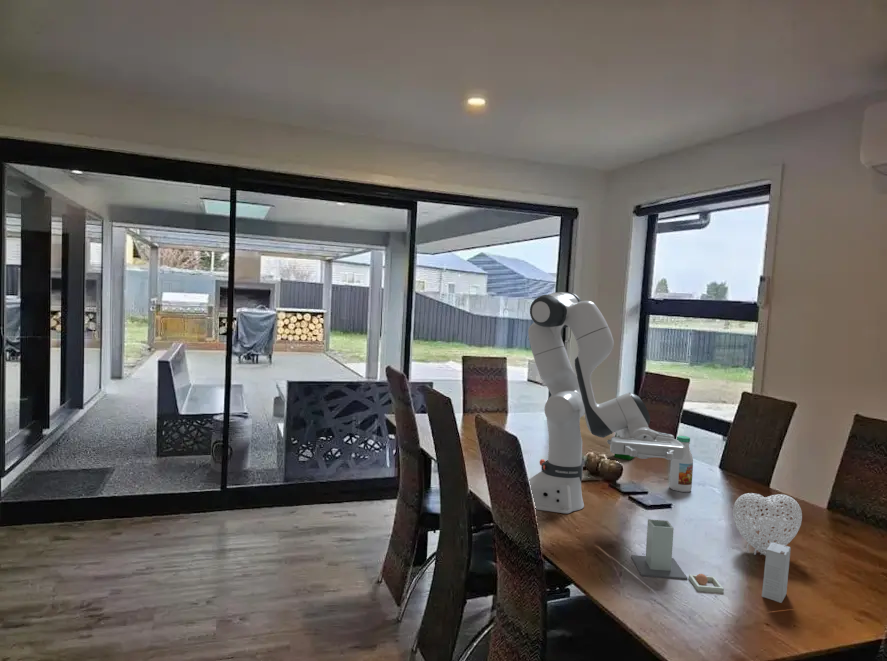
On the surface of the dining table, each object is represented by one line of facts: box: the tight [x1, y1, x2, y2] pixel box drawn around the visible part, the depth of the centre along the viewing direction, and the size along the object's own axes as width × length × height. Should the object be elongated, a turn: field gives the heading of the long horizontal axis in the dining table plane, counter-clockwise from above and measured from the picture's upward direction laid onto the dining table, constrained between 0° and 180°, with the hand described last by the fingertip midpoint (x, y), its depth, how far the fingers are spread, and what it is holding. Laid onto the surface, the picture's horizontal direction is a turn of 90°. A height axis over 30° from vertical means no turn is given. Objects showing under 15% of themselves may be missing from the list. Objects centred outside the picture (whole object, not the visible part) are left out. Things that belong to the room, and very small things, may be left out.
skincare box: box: [761, 542, 792, 604], centre depth 134 cm, size 6×4×12 cm
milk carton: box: [613, 429, 635, 461], centre depth 258 cm, size 9×9×20 cm
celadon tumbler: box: [645, 518, 675, 571], centre depth 146 cm, size 5×5×11 cm
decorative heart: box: [732, 492, 803, 557], centre depth 158 cm, size 18×11×17 cm, turn 89°
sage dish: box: [688, 574, 725, 594], centre depth 138 cm, size 6×6×2 cm
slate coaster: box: [630, 554, 688, 581], centre depth 146 cm, size 11×11×1 cm
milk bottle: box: [669, 435, 694, 493], centre depth 214 cm, size 8×8×20 cm
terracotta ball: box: [696, 573, 709, 586], centre depth 139 cm, size 3×3×3 cm
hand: (651, 455), depth 156 cm, fingers open, 8 cm apart
